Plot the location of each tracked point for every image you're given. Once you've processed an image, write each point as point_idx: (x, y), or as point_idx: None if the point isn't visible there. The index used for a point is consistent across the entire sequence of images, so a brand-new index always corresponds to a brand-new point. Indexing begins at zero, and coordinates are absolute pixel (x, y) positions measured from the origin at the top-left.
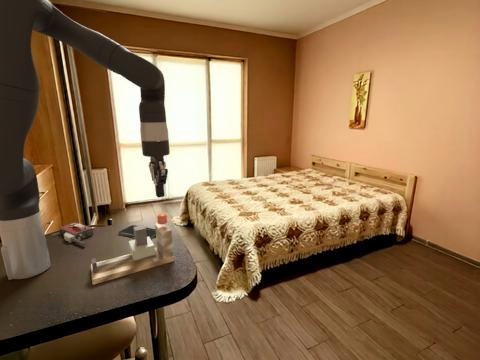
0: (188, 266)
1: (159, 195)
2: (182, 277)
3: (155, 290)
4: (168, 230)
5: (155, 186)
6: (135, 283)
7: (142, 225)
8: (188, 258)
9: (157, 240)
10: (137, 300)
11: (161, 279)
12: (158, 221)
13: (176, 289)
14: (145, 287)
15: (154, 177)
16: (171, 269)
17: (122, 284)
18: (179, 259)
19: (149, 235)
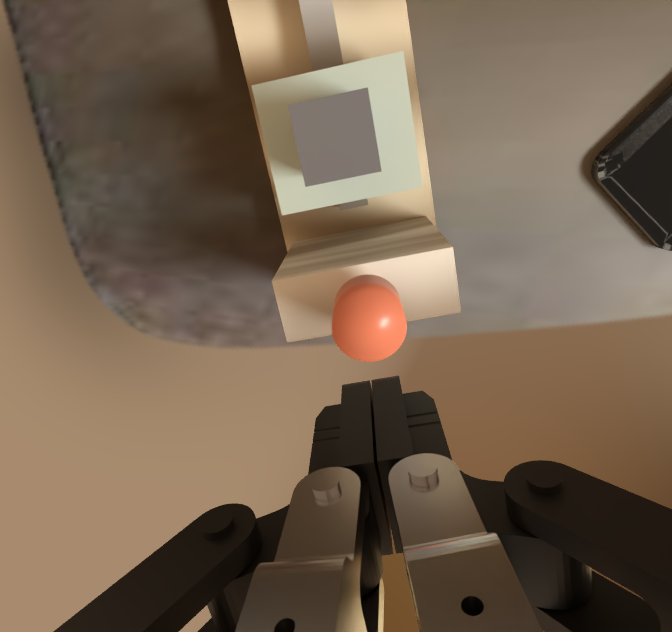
0: (232, 334)
1: (324, 416)
2: (157, 299)
3: (93, 187)
4: (291, 324)
5: (383, 448)
6: (162, 101)
7: (373, 160)
8: (299, 344)
9: (404, 231)
10: (42, 113)
11: (164, 216)
12: (348, 285)
13: (83, 267)
14: (122, 146)
15: (255, 578)
16: (230, 263)
17: (169, 38)
18: None
19: (642, 176)
